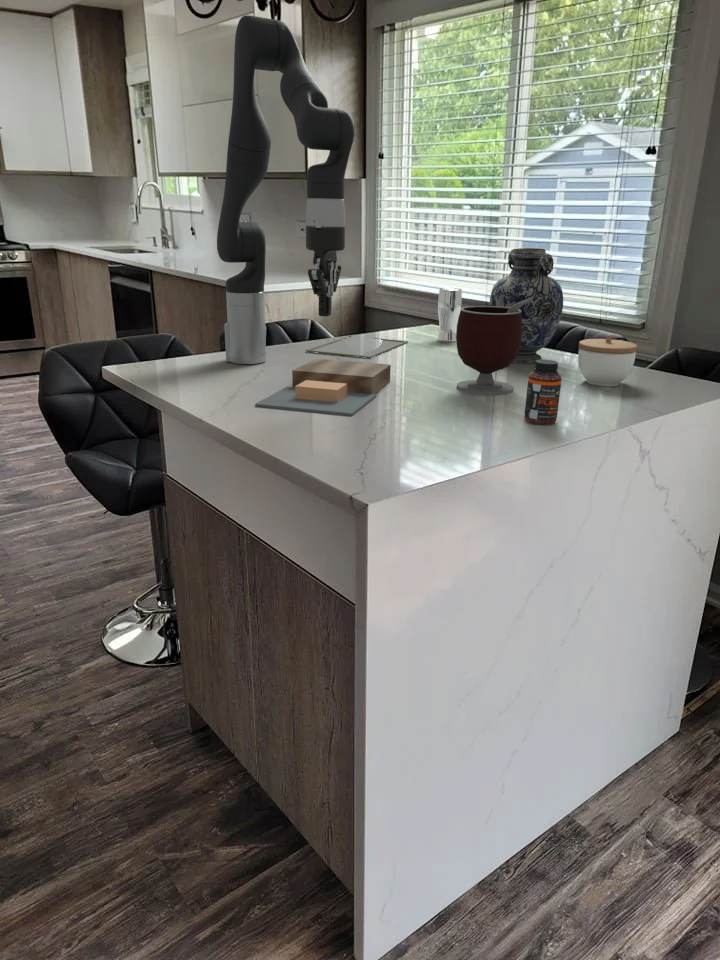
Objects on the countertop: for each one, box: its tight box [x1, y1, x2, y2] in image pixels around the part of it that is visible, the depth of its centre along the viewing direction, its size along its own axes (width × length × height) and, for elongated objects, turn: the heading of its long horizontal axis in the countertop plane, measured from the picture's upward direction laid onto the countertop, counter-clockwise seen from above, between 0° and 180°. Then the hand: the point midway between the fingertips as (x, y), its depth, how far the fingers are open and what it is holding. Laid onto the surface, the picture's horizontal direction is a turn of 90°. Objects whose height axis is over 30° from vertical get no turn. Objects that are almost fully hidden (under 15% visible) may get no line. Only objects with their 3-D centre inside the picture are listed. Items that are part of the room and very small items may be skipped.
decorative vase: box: [489, 247, 564, 364], centre depth 189 cm, size 21×19×28 cm
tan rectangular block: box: [295, 380, 347, 402], centre depth 149 cm, size 9×6×2 cm, turn 72°
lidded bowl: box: [577, 334, 638, 387], centre depth 166 cm, size 13×13×11 cm
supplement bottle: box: [523, 359, 562, 426], centre depth 134 cm, size 6×6×11 cm
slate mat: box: [254, 385, 377, 417], centre depth 147 cm, size 20×16×1 cm
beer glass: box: [437, 287, 463, 343], centre depth 217 cm, size 7×7×15 cm
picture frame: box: [305, 335, 409, 359], centre depth 206 cm, size 19×1×28 cm
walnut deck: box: [291, 358, 391, 394], centre depth 161 cm, size 18×14×4 cm
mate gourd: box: [455, 298, 533, 396], centre depth 157 cm, size 16×14×20 cm
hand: (324, 315), depth 146 cm, fingers closed
